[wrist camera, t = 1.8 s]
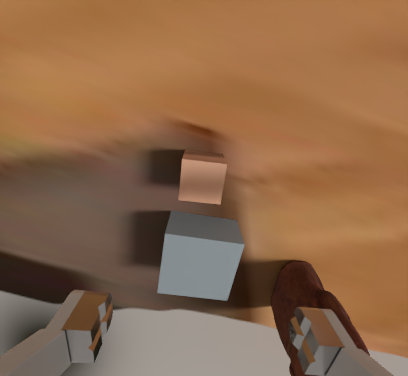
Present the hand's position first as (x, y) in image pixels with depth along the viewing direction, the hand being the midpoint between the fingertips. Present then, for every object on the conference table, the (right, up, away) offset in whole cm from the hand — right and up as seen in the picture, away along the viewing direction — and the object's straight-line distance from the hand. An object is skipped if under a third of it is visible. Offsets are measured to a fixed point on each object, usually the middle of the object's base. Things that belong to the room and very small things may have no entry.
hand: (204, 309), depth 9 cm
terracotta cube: (0, +8, +19) cm, 21 cm away
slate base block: (-1, -3, +24) cm, 24 cm away
